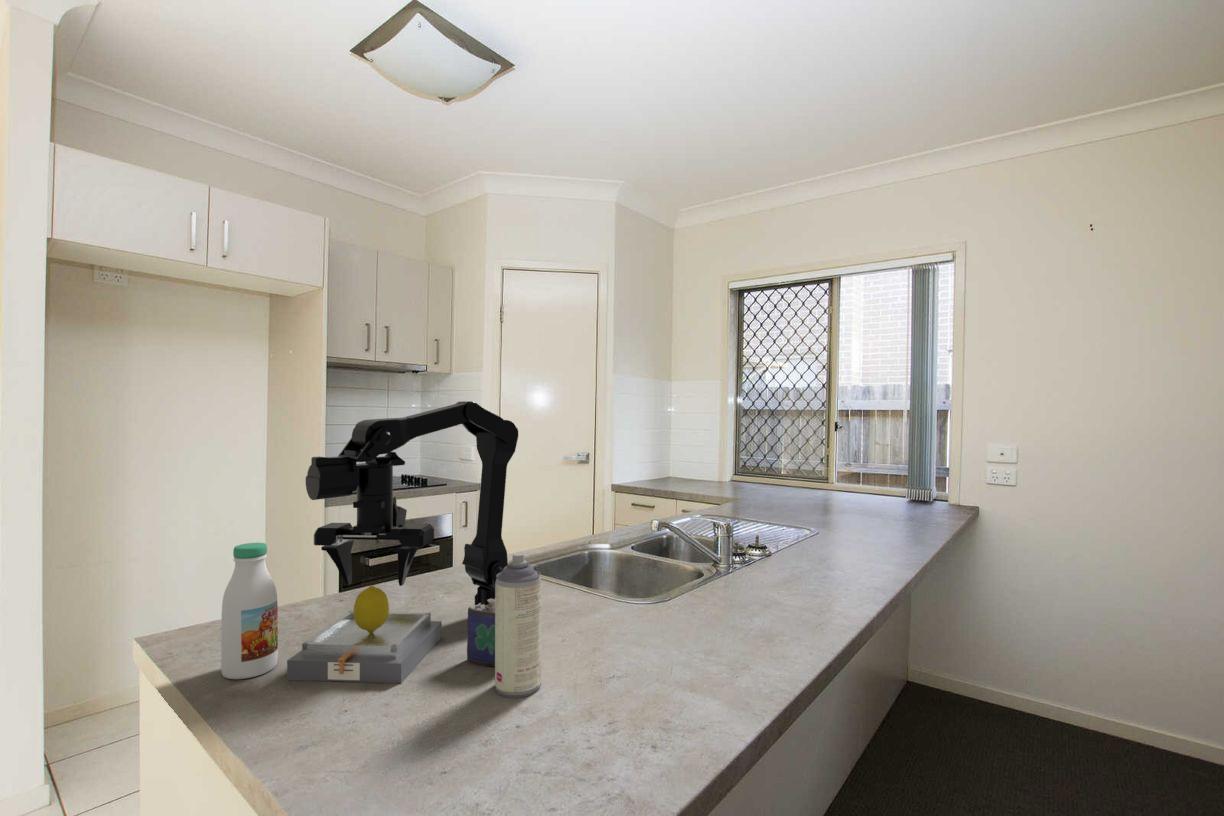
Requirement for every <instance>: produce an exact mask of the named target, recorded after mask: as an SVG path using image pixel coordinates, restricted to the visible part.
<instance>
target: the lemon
mask: <svg viewBox="0 0 1224 816" xmlns="http://www.w3.org/2000/svg"><path fill="white" fill-rule="evenodd" d="M389 610H390V605H389V600H388V596H387V594H386V593H385V592H384V590H382V589H381V588H379V587H376V586H375V585H369V586H368V587H367V588H364V589H363V590H362V591H360V592H359V594H358V595H357V596H356V599H355V602H354V605H353V610H352V611H353V612H354V619H355V622H356V624H357V625H358V626H359V627H360V628H361V629H363V630H367V631H368V632H369V633H373V632H374V631H375V630H376V629H377V628H379V627H381V626H382V625H383V624H384V623H385V621H386V619H387V617H388V613H389V612H390V611H389Z"/></svg>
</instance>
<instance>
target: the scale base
mask: <svg viewBox="0 0 1224 816" xmlns="http://www.w3.org/2000/svg"><path fill="white" fill-rule="evenodd" d="M442 626H443V625H442V620H441V621H440V620H438V621H437V620H431V624H430V625H429V626H428V627H427V628H426V629H425V630H424V631H423V632H422V633H421V634H420V635H419V636H418V637H417V638H416V639H415V640H414V641H413V642H412V643H411V644H410V645H409V646H408V647H407V648H406V649H405V650H404V651H403V653H402V654H401V655H400V656H399V657H398V658H397V659H371V658H349V659H348V660H347V661H346V662H345V663H344V674H339V663H338V659H339V658H335V657H302V649H301V650H300V651H298V652H297V653H296V654H294V655H292V656H291V657H290V658H288V659H287V660H286V663H287V664H286V665H287V666H286V680H287V681H311V682H315V681H316V682H318V681H319V682H321V681H322V682H323V681H324V682H343V683H344V682H349V683H351V682H352V683H353V682H354V683H378V682H379V684H380V682H381V683H382V682H383V683H382V684H385V683H386V684H403V682H404V681H405V680H406V678H408V676H409V675H410V674H411V673H412V672H413V670H415V669H416V667H417V666H418V665H419V664H420V663H421V662H422V661H423V659H424V658H425V657H426V656H427V655H428V654H429V653H430V651H431V650H433V648H434V647H435V646H436V645H437V644H438V643H439V641H440V640H441V639H442V638H443V637H442V633H443V632H442V629H443V628H442Z"/></svg>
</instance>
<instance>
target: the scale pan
mask: <svg viewBox="0 0 1224 816" xmlns="http://www.w3.org/2000/svg"><path fill="white" fill-rule="evenodd" d="M353 611H354V610H350V611H348V612H346V613H345V614H343V615H341V616H340V617H339V618H338V619H336V620H335V621H333V622H332V623H330V624H329V625H327V626H326V627H324V628H323V629H322V630H320V631H319V632H317V633H316V634H314V635H313V636H312V637H310V638H309V639H307V640H306V641H304V642H303V643H302V644H301V646H302V647H301V650H302V657H335V658H339V659H338V663H339V674H344V663H345V662H346V661H347V660H348V659H349V658H371V659H397V658H398V657H399V656H400V655H401V654H402V653H403V651H404V650H405V649H406V648H407V647H408V646H409V645H410V644H411V643H412V642H413V641H414V640H415V639H416V638H417V637H418V636H419V635H420V634H421V633H422V632H423V631H424V630H425V629H426V628H427V627H428V626H429V625H430V624H431V621H432V619H431V617H432V614H431V612H408V611H407V612H403V611H402V612H401V611H400V612H399V611H398V612H397V611H389V613H388V617H387V619H386V621H385V623H384V624H383V625H382V626H381V627H379V628H377V629H376V630H375V631H374V632H373V633H369V632H368V631H367V630H363V629H361V628H360V627H359V626H358V625H357V624H356V622H355V619H354V612H353Z"/></svg>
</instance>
